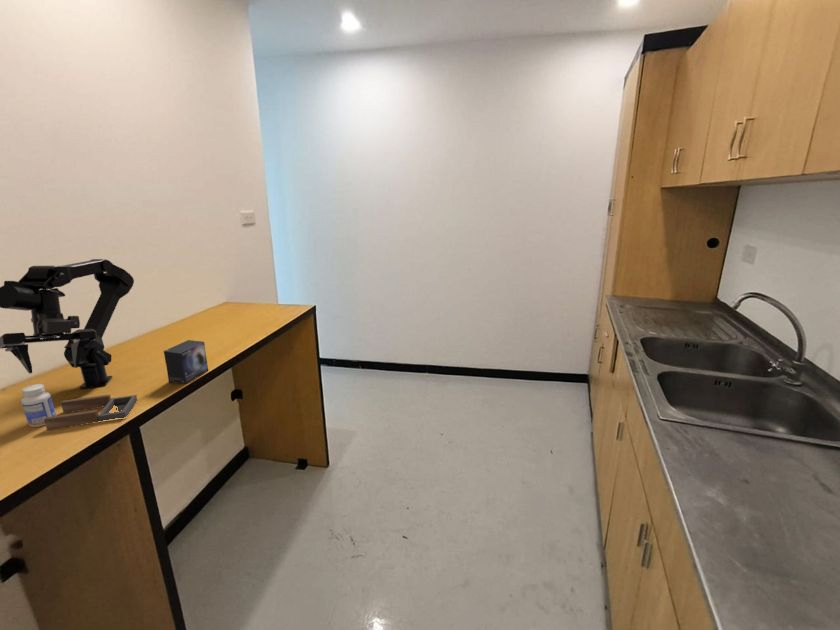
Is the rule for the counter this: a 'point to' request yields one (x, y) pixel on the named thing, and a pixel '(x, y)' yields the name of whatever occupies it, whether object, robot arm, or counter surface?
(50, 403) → the pill bottle
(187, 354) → the small box
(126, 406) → the dark shallow tray
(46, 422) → the walnut channel
